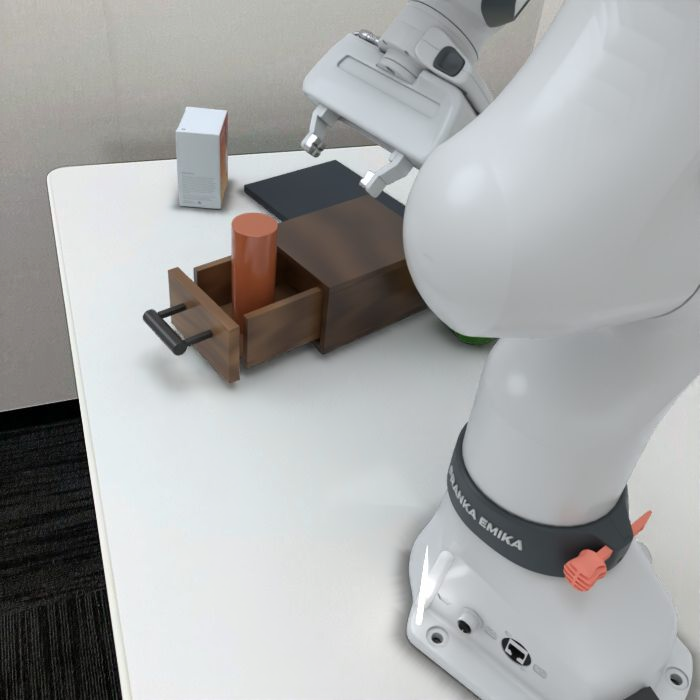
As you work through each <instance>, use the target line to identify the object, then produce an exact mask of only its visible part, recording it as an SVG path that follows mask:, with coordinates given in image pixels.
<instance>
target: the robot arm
mask: <svg viewBox="0 0 700 700" xmlns="http://www.w3.org/2000/svg"><path fill="white" fill-rule="evenodd" d="M530 1H531V0H407V2H406V4H404V6H403V7H402V9H400V11H399V12H398V13H397V14H396V16H395V18H394V19H393V21H392V22H391V23H390V24H389V25H388V27H387V28H386V30H384V32H383V33H382V35H381V36H379V35H376V34H375V33H373V32H372V31H370V30H368V29H363V28H362V29H360V30H359V31H354V32H349V33H347V34H346V35H345V36H344V37H343V38H342V39H340V40H339V41H337V42H336V43H334V45H333V46H332V47H330V48H329V49H328V51H327V52H326V53H325V54H324V55H323V56H322V57H321V58H320V59H319V60H318V61H317V62H316V63H315V65H314V66H313V67H312V68H311V69H310V70H309V72H307V74H306V76H305V77H304V79H303V81H302V87H301V92H302V94H303V95H304V96H305V97H306V98H307V99H308V100H309V102H310V103H312V104H313V105H314V106H315V109H314V110H313V112H312V114H311V120H310V124H309V129H308V133H307V134H306V135H305V137H304V138H303V139H302V141H300V147H301V149H302V150H304V152H306V153H307V154H308V155H310V156H312V157H313V158H314V159H317V158H319V157H320V155H321V153H322V152H323V151H324V150H325V149H326V148H327V146H328V145H327V144H326V143H325V142H324V139H325V136H326V133H327V129H328V128H330V129H332V128H333V127H334V126H335V124H336V123H337V122H340V123H342V124H343V125H344V126H346V127H348V128H350V129H351V130H352V131H355V133H358V134H359V135H361V136H362V137H364V138H366V139H368V140H370V141H371V142H373V143H374V144H376V145H377V146H380V147H381V148H382V149H384V150H385V151H387V152H388V153H390V154H389V156H388V158H387V160H388V161H389V163H388V164H386V165H384V166H383V167H381V168H380V169H378V170H377V171H375V172H373V171H372V170H370V169H368V170H367V171H366V173H365V174H364V177H363V179H361V181H360V183H359V186H360V187H361V188H362V189H363V190H364V191H365V192H366V193H368V194H369V195H371V196H372V197H374V198H376V197H378V196H379V194H380V193H381V192H382V191H384V189H385V188H386V187H387V186H389V185H392V184H393V183H395V182H397V181H400V180H401V179H403V178H405V177H407V176H408V174H409V173H410V172H411V170H413V168H415V169H416V170H418V172H417V173H416V176H415V178H414V180H413V181H412V184H411V187H410V190H409V192H408V195H407V198H406V203H405V211H404V219H403V246H404V253H405V258H406V262H407V266H408V269H409V272H410V275H411V277H412V280H413V282H414V284H415V286H416V288H417V290H418V292H419V294H420V295H421V297H422V298H423V300H424V301H425V303H426V304H427V305H428V309H430V310H431V312H432V313H434V315H435V316H436V317H437V318H438V320H440V321H441V322H442V323H444V324H445V325H446V326H447V327H448V326H449V327H450V328H451V329H453V330H454V331H453V330H452V331H453V332H455V331H456V332H458V333H459V334H462V335H465V336H470V337H490V338H494V339H498V340H497V341H496V343H495V344H493V346H492V348H490V351H489V352H488V354H487V356H486V359H485V361H484V364H483V366H482V369H481V374H480V377H479V382H478V384H477V387H476V392H475V396H474V399H473V403H472V408H471V410H470V413H469V416H468V421H467V422H465V424H464V425H463V427H462V428H461V430H460V432H459V434H458V436H457V438H456V439H457V440H456V442H455V446H454V448H453V452H452V455H451V458H450V462H449V465H448V469H447V474H446V490H445V493H444V495H443V498H442V500H441V501H440V503H439V506H438V508H437V509H436V511H435V513H434V515H433V517H432V518H431V519H430V521H429V522H428V523H427V524H426V525H425V527H423V528H422V530H421V531H420V533H419V534H418V535H417V537H416V539H415V541H414V543H413V544H412V548H411V550H410V555H409V561H408V577H409V583H410V584H409V585H410V590H411V595H412V605H411V608H410V611H409V615H408V618H407V623H406V637H407V639H408V641H409V642H410V643H411V644H412V645H413V646H414V647H415V648H416V649H417V650H419V651H420V652H421V653H422V654H424V655H425V656H426V657H428V658H429V659H430V660H431V661H432V662H434V663H435V664H436V665H438V666H439V667H440V668H441V669H443V670H444V671H445V672H446V673H448V674H449V675H450V676H452V677H453V678H454V679H455V680H457V682H458V683H460V684H461V685H463V687H465V688H466V689H467V690H469V691H470V692H472V693H473V694H474V695H475V696H476V697H478V698H479V699H480V700H686V698H687V696H688V694H689V692H690V688H691V685H692V680H693V672H694V662H693V655H692V653H691V652H690V650H689V649H688V647H687V646H686V645H685V644H684V643H683V641H682V640H681V639H680V638H679V637H678V634H677V632H678V628H679V627H678V625H679V622H678V621H679V619H678V610H677V607H676V604H675V602H674V599H672V597H671V595H670V594H669V592H668V590H667V589H666V588H665V586H664V584H663V583H662V582H661V579H660V578H659V576H658V574H657V573H656V572H655V569H654V568H653V566H652V563H653V557H652V554H651V551H650V550H649V548H648V547H647V546H646V544H644V543H643V542H642V541H639V540H637V539H636V538H635V537H636V536H637V535H638V534H639V533H641V532H642V531H643V530H644V528H645V526H646V525H647V523H648V521H649V519H650V518H651V516H652V513H653V511H652V510H647V511H646V512H645V513H644V514H643V515H641V516H639V518H638V519H636V520H635V521H634V522H633V523H631V520H630V504H629V490H628V482H629V480H630V478H631V476H632V474H633V472H634V470H635V469H636V466H637V464H638V463H639V461H640V459H641V457H642V455H643V453H644V451H645V450H646V448H647V446H648V444H649V442H650V440H651V438H652V437H653V435H654V433H655V431H656V429H657V428H658V426H659V424H660V423H661V422H662V421H663V419H664V417H665V416H666V415H667V413H668V412H669V411H670V410H671V409H672V407H673V406H674V405H675V403H676V402H677V401H678V400H679V399H680V398H681V397H682V395H684V393H685V392H686V391H687V390H688V389H689V387H691V385H693V383H694V382H695V381H696V380H697V379H698V378H699V376H700V0H563V2H562V4H561V6H560V7H559V9H558V10H557V13H556V14H555V16H554V17H553V19H552V21H551V23H550V24H549V26H548V28H547V29H546V31H544V34H543V36H542V37H541V38H540V40H539V42H538V43H537V45H536V46H535V47H534V48H533V51H532V52H531V53H530V55H529V56H528V58H527V59H526V60H525V62H524V63H523V64H522V66H521V67H520V69H518V71H517V72H516V74H515V75H514V76H513V77H512V79H511V80H510V82H508V84H507V85H506V86H505V87H504V88H503V90H502V91H500V93H499V94H498V95H497V96H496V97H495V98H494V96H493V94H492V93H491V91H490V88H489V86H488V85H487V83H486V82H485V80H484V78H483V77H482V76H481V74H480V72H479V71H478V69H477V68H476V67H475V65H476V64H477V62H478V61H479V60H480V58H481V56H482V54H483V51H484V49H485V47H486V45H487V44H488V42H489V41H490V39H491V38H492V37H493V36H494V35H495V34H496V33H498V32H499V31H501V30H502V29H503V28H504V27H505V26H506V25H508V24H511V23H512V22H515V21H516V19H517V18H518V17H519V16H520V14H522V12H523V11H524V9H525V8H526V6H527V5H528V4H529V3H530ZM433 639H438V640H439V641H440V643H437V642H434V640H433ZM671 679H672V680H674V681H676V683H677V684H676V683H674V682H673V681H672V680H671Z"/></svg>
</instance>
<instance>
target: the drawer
mask: <svg viewBox="0 0 700 700" xmlns="http://www.w3.org/2000/svg"><path fill="white" fill-rule="evenodd" d="M192 270H193V280H192V278H190V277H189V276H188V275H187V274H186V272H184V271H183V270H182V269H181V268H180V267H179V266H176V267H173V268H170V269H167V279H168V280H167V281H168V296H169V307H167V308H165V309H162V310H159V311H157V310H155V309H153V308H151V309H148V310H146V311H145V312H143V314H142V321H143V322H144V323H145V325H146V326H148V328H149V329H150V330H151V331H152V332H153V333H154V334H155V335H156V337H158V339H159V340H160V341H161V342H162V343H163V344H164V345H165V346H166V348H167V349H169V350H170V351H171V353H172V354H173V355H174V356H182V355H184V353H185V352H186V351H187V350H188V348H189V347H193V348H194V349H195V350H196V351H197V352H198V353H199V354H200V355H201V356H202V357H203V358H204V359H205V360H206V362H208V364H209V365H211V366H212V368H213V369H214V370H215V371H216V372H217V373H218V374H219V375H220V376H221V377H222V378H223V379H224V380H225V381H226V382H227V384H229V385H231V384H233V383H235V382H238V381H239V380H240V364H241V365H242V366H244V368H245V369H250V368H252V367H254V366H257V365H260V364H262V363H264V362H266V361H269V360H272V359H273V358H276V357H278V356H280V355H283V354H285V353H287V352H289V351H292V350H294V349H297V348H299V347H301V346H304V345H305V344H308V343H310V342H311V341H313V340H315V339H318V338H320V334H321V323H322V312H323V301H324V290H323V289H322V288H321V287H320V286H318V285H317V284H316V283H315V282H314V281H312V280H311V279H310V278H309V277H307V276H306V275H305V274H304V273H303V272H301V271H300V270H299V269H298V268H297V267H295V266H294V265H293V264H292V263H290V262H289V261H288V260H287V259H286V258H284V257H283V256H282V255H281V254H280V253H278V252H277V260H276V285H275V303H273V304H270V305H268V306H265V307H262V308H260V309H257V310H255V311H252V312H249V313H247V314H244V315H243V334H241V333H240V326H239V325H238V324H237V323H236V322H235V321H234V320H233V319H232V270H231V254H230V255H227V256H225V257H222V258H218V259H215V260H212V261H210V262H207V263H204V264H200V265H197V266H194V267H193V269H192ZM169 317H170V323H171V325H173V327H174V328H175V329H176V330H177V331H178V332H179V333H180V334H181V335H182V336H183V337H184V339H183V338H182V337H181V336H180V335H179V334H178V333H177V332H176V330H174V329H173V328H172V326H171V325H170V324H168V322H167V321H166V320H165V319H166V318H169Z"/></svg>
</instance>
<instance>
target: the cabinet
mask: <svg viewBox="0 0 700 700" xmlns="http://www.w3.org/2000/svg"><path fill="white" fill-rule="evenodd" d="M403 219H404V218H402V217H401V216H399V215H398V214H396V213H395V212H393V211H392V210H390V209H389V208H387V207H386V206H384V205H383V204H381V203H380V202H378V201H377V200H376V199H374V198H373V197H371V196H370V195H365V196H362V197H359V198H356V199H353V200H350V201H346V202H343V203H340V204H337V205H334V206H331V207H328V208H324V209H321V210H318V211H315V212H312V213H309V214H306V215H303V216H299V217H296V218H293V219H290V220H287V221H284V222H283V221H281V222H277V224H278V235H277V252H278V253H280V254H281V255H282V256H283V257H284V258H286V259H287V260H288V261H289V262H290V263H292V264H293V265H294V266H295V267H297V268H298V269H299V270H300V271H301V272H303V273H304V274H305V275H306V276H307V277H309V278H310V279H311V280H312V281H314V282H315V283H316V284H317V285H318V286H320V287H321V288H322V289H323V290H324V301H323V312H322V323H321V334H320V338H318V339H315V340H313V341H311V342H309V343H310V344H311V345H312V346H314V348H316V349H317V350H318V351H319V352H320V353H321V354H323V355H325V354H327V353H329V352H331V351H334V350H336V349H338V348H341V347H343V346H345V345H347V344H350V343H352V342H355V341H357V340H358V339H359V340H360V339H361V338H364V337H365V336H367V335H371V334H372V333H375V332H378V331H379V330H381V329H384V328H385V327H388V326H390V325H392V324H395V323H397V322H399V321H402V320H403V319H405V318H408V317H411V316H413V315H415V314H417V313H419V312H421V311H424V310H426V309H429V307H428V305H427V304H426V303H425V301H424V300H423V298H422V297H421V295H420V294H419V292H418V290H417V288H416V286H415V284H414V282H413V280H412V277H411V275H410V272H409V269H408V266H407V262H406V258H405V253H404V246H403Z"/></svg>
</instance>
